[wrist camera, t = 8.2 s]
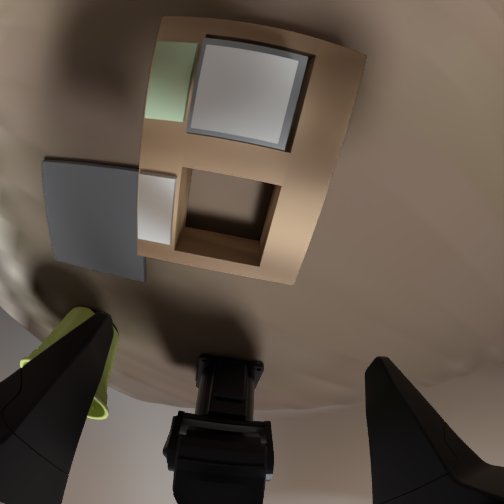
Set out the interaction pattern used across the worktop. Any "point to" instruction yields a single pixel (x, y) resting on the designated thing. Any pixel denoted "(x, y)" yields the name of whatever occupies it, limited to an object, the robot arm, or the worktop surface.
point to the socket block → (240, 151)
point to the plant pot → (100, 398)
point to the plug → (245, 92)
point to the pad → (94, 216)
